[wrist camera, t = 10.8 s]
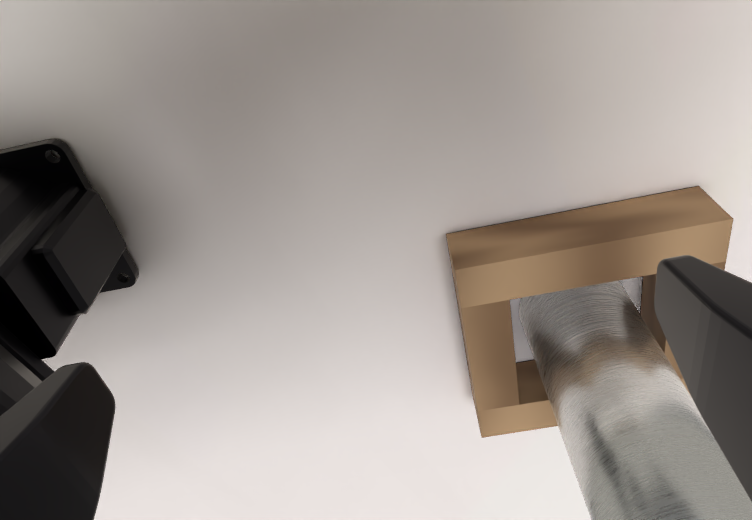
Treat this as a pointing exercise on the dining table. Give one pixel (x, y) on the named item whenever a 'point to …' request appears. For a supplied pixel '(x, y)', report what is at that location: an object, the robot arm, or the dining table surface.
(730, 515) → the metal canister
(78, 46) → the dining table surface
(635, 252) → the frame
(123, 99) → the dining table surface
